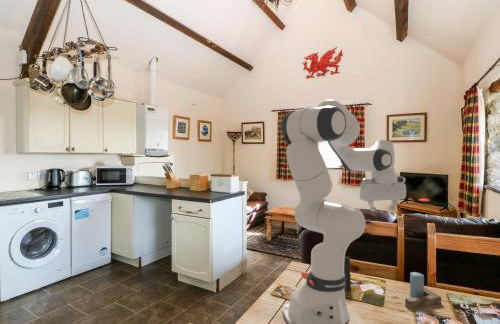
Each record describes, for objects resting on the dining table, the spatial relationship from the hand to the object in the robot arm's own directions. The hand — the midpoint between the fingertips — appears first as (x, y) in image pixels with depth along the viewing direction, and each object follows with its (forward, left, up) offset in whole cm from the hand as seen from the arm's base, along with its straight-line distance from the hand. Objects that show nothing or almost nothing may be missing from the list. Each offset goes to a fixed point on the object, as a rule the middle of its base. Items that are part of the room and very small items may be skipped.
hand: (382, 210), depth 115 cm
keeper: (+4, -14, -31) cm, 34 cm away
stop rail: (+2, -15, -31) cm, 35 cm away
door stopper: (-18, +2, -31) cm, 36 cm away
